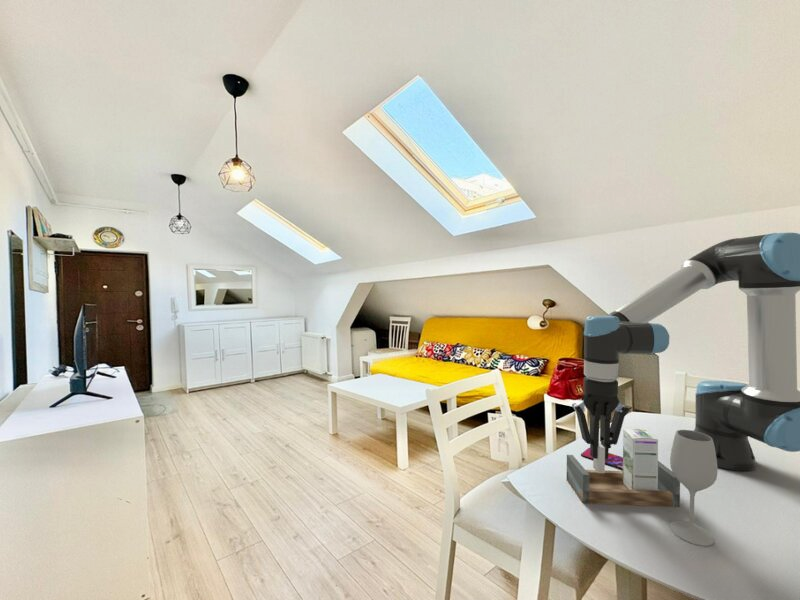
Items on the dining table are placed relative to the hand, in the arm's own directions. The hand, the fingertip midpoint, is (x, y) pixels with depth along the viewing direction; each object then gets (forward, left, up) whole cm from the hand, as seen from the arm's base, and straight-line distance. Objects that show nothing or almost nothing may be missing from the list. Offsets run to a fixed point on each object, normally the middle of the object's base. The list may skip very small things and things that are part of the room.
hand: (598, 470), depth 90 cm
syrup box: (-10, 0, -5) cm, 11 cm away
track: (-5, 0, -6) cm, 8 cm away
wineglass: (-12, +14, -6) cm, 20 cm away
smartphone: (-11, -17, -6) cm, 21 cm away
